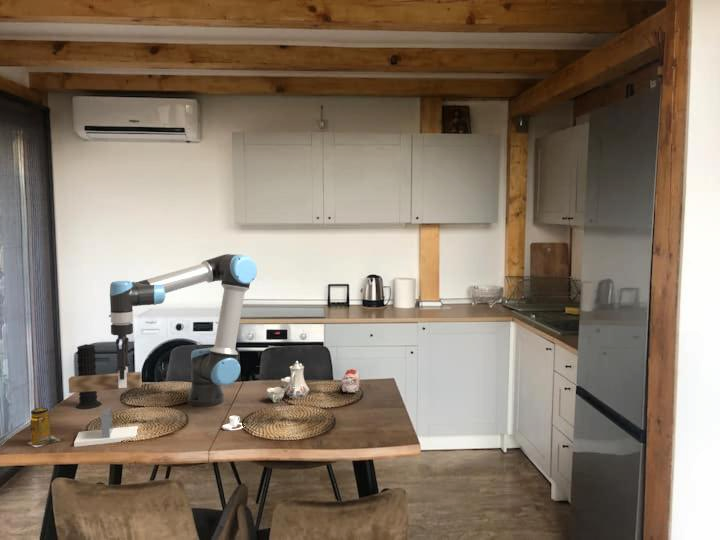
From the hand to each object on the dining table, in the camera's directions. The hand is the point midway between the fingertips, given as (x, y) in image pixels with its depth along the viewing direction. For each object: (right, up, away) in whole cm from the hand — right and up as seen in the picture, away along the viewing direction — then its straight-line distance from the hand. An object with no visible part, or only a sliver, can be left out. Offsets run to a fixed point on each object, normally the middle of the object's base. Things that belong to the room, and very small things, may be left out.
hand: (123, 385), depth 215 cm
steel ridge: (-3, -16, -6) cm, 17 cm away
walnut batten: (-6, -1, -1) cm, 6 cm away
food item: (+83, -13, +53) cm, 100 cm away
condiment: (-24, -18, -9) cm, 32 cm away
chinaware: (+57, -14, +45) cm, 74 cm away
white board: (-3, -18, -6) cm, 19 cm away
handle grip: (-28, -15, +33) cm, 46 cm away
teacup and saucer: (+37, -17, +6) cm, 41 cm away
